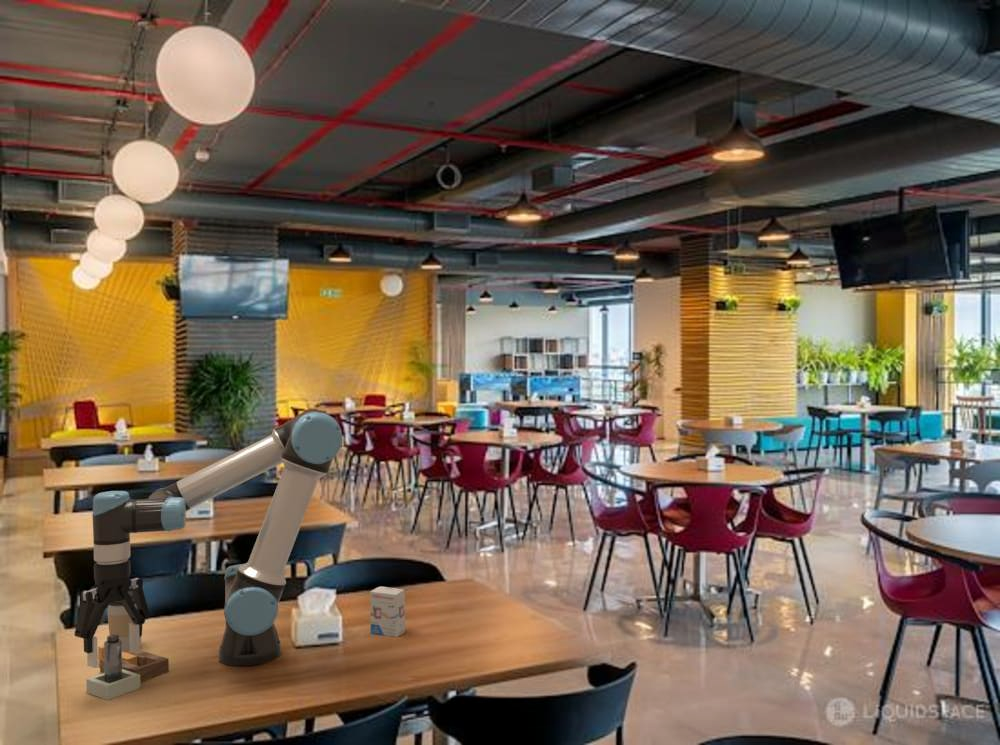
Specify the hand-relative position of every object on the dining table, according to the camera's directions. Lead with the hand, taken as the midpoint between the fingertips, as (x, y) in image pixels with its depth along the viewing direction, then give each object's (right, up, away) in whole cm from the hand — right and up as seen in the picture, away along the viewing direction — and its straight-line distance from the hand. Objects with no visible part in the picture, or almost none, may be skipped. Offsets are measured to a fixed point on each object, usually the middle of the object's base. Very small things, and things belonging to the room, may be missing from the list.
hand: (114, 659), depth 190 cm
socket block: (0, -7, +11) cm, 13 cm away
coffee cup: (-9, -7, +27) cm, 30 cm away
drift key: (-5, -7, +15) cm, 17 cm away
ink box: (+57, -6, +39) cm, 69 cm away
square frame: (0, -7, 0) cm, 7 cm away
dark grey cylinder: (0, -7, 0) cm, 7 cm away
